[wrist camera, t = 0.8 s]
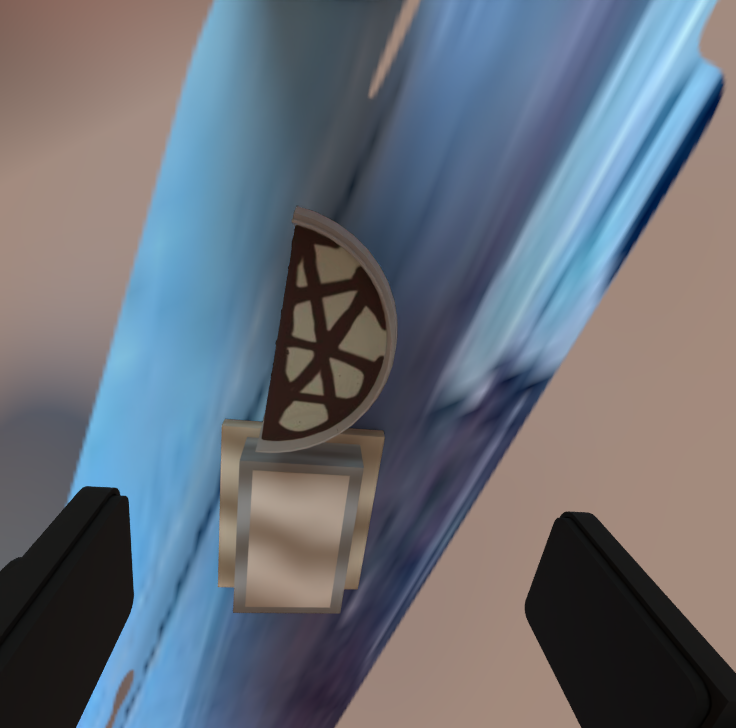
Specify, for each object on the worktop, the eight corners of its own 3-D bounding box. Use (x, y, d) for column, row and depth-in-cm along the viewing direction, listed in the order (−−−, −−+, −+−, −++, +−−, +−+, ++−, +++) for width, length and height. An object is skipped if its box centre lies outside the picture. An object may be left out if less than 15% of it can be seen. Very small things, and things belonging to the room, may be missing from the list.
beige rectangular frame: (224, 418, 31) (211, 448, 27) (383, 430, 33) (391, 460, 29) (220, 577, 36) (208, 620, 32) (356, 579, 38) (360, 621, 34)
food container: (356, 395, 31) (371, 476, 22) (274, 382, 30) (253, 461, 21) (397, 227, 27) (436, 239, 18) (303, 205, 26) (293, 205, 17)
